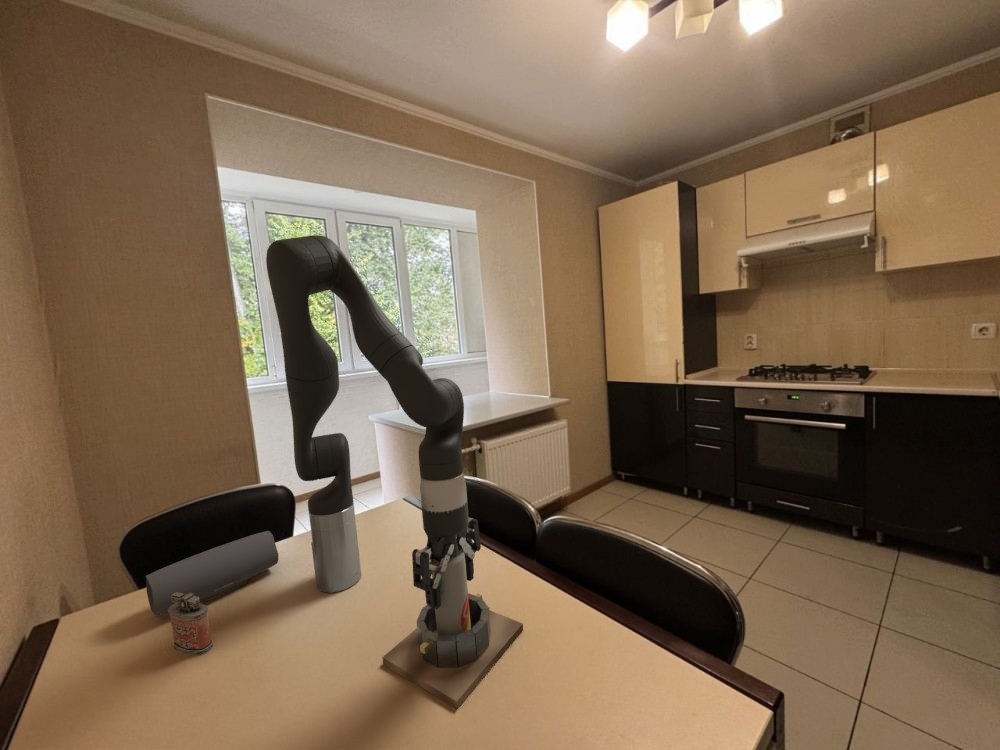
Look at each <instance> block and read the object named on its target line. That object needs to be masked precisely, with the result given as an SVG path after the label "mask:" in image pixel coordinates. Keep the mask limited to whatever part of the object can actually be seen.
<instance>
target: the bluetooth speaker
mask: <svg viewBox="0 0 1000 750" xmlns="http://www.w3.org/2000/svg"><path fill="white" fill-rule="evenodd" d="M278 562H279V551H278V549H277V544H276V542H275V539H274V536H273V533H272V532H271V531H270V530H266V531H262V532H257V533H254V534H251V535H249V536H245V537H243V538H239V539H236V540H233V541H231V542H227V543H225V544H224V543H223V544H222V545H219V546H216V547H213V548H211V549H208V550H205V551H202V552H200V553H197V554H194V555H192V556H190V557H187V558H184V559H182V560H180V561H177V562H174V563H171V564H170V565H167V566H165V567H163V568H160V569H158V570H155V571H154V572H151V573H149V574H146V575H145V579H146V580H145V582H146V595H147V599H148V603H149V607H150V611H151V612H152V613H153V615H154V616H153V617H154V618H155V617H157V616H161V615H164V614H167V613H168V608H169V607H170V606H172V605H173V604H175V602H172V600H171V596H172V594H174V593H176V592H178V593H183V594H186V595H187V594H189V593H193V594H194V596H196V597H199V601H200V603H201V604H204V603H206V602H208V601H211V600H213V599H215V598H218V597H220V596H222V595H224V594H226V593H230V592H231V591H233V590H236V589H237V588H239V587H241V586H243V585H245V584H246V583H247V582H248V579H250V578H253V577H255V576H256V575H258V574H260V573H262V572H265V571H267V570H269V569H271V568H272V567H274V566H276V565H277V564H278ZM168 614H169V613H168Z"/></svg>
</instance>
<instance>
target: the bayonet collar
mask: <svg viewBox="0 0 1000 750" xmlns="http://www.w3.org/2000/svg"><path fill="white" fill-rule="evenodd" d="M468 600H469V612H470V622H472V623H474V624H476V625H475V626H474V627H473V628H472V629H471V630H468V631H466V632H463V633H461V634H458V635H455V636H439V635H437V634H435V633H433V631H434V630H436V629H437V625H436V614H435V609H434V608H432V607H430V606H428V605H427V604H426V605H425V606H424V607H422V608H421V610H420V612H419V615H418V618H417V619H416V628H417V633H418V644H419V649H420V652H421V654H422V657H423V659H424V660H425V661H426V662H428V663H430V664H432V665H434V666H436V667H437V668H438V667H439V668H458V667H462V666H464V665H466V664H469V663H471V662H473V661H476V660H477V659H478V658H479V657H480V656H481V655H482V654H483V653H484V652H485V651H486V649H487V648H488V647H489V643H490V636H491V629H490V616H489V610H490V609H489V608H488V606H489V605H487V604H486V602H485V601H484V599H483V595H482V594H481V593H477V594H476V595H474V594H471V593H468Z"/></svg>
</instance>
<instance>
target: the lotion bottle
mask: <svg viewBox="0 0 1000 750" xmlns="http://www.w3.org/2000/svg"><path fill="white" fill-rule="evenodd" d="M445 542H446V544H453V545H454V550H453V553H452V555H451V556H450V558H449V561H448V564H447V567H446V571H445V573H443V574H442V575H441V578H440V581H439V584H438V586H439V590H440V601H441V606H440V607H439V608H438V609H435V614H436V625H437V635H439V636H455V635H458V634H461V633H463V632H466V631H468V630H471V625H470V612H469V600H468V592H469V591H468V580H467V576H466V564H465V555H464V552H463V551H462V550H461V551H460V552H459V545H458V535H457V534H456V535H453V536H449V537H445ZM432 563H433V565H435V566H439V565H440V563H441V562H439V561H436V560H435V559H434V560H433V561H432ZM434 574H435V571H433V572H432V575H431V578H432V579H433V577H434Z"/></svg>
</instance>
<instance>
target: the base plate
mask: <svg viewBox="0 0 1000 750" xmlns="http://www.w3.org/2000/svg"><path fill="white" fill-rule="evenodd" d="M487 606H488V608H489V616H490V629H491V636H490V643H489V647H488V648H487V649H486V651H485V652H484V653H483V654H482V655H481V656H480V657H479V658H478V659H477V660H476V661H473V662H471V663H469V664H466V665H464V666H462V667H458V668H439V667H438V668H437V667H436V666H434V665H432V664H430V663H428V662H426V661H425V660H424V659H423V657H422V654H421V652H420V649H419V644H418V633H417V627H416V628H415V629H414V630H412V632H410V633H409V634H408V635H407V636H405V637H404V638H403V639H402V640H401V641H400V642H398V643H397V644H396V645H395V646H394V647H393V648H392V649H391V650H389V651H388V652H387V653H386V654H384V655H383V656H382V664H383V666H385V667H388V668H389V669H390V670H391V671H393V672H395V673H397V674H399V675H400V676H402V677H403V678H405V679H406V680H409V681H410V682H412V683H414V684H416V685H417V686H419V687H420V688H422V689H424V690H425V691H427V692H429V693H430V694H432V695H433V696H436V698H438V699H440V700H442V701H444V702H445V703H447V704H448V705H450V706H451V707H453V708H455V709H457V710H458V709H459V707H461V705H462V704H463V703H464V702H465V701H466V699H467V698H468V697H469V696H470V695H471V694H472V692H473V691H474V690H475V689H476V687H477V686H478V685H479V684H480V682H481V681H482V680H483V679H484V678H485V676H486V675H487V674H488V673H489V672H490V670H491V669H493V667H494V665H496V663H497V662H498V661H499V660H500V658H501V657H502V656H503V655H504V653H505V652H507V650H508V649H509V648H510V646H511V645H512V644H513V643H514V642H515V640H516V639H517V638H518V637H519V636H520V634H522V632H523V631H524V624H523V623H522V622H519V621H518V620H515V619H512V618H510V617H508V616H505V615H502V614H499V613H498V612H495V611H492V610H490V609H491V606H489V605H487ZM470 625H471V629H472V628H473V627H474V626H475V625H476V624H474V623H472V622H470ZM433 633H435V634H437V629H436V630H434V631H433Z"/></svg>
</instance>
